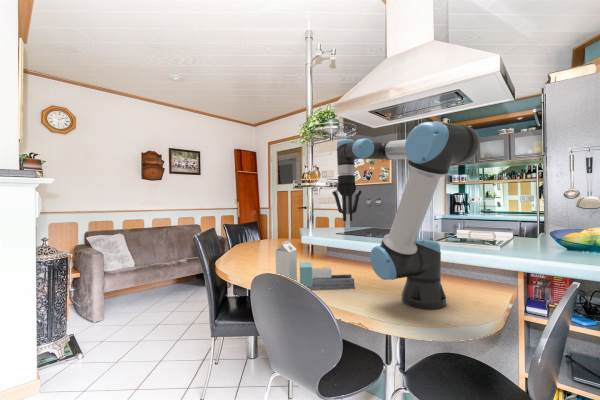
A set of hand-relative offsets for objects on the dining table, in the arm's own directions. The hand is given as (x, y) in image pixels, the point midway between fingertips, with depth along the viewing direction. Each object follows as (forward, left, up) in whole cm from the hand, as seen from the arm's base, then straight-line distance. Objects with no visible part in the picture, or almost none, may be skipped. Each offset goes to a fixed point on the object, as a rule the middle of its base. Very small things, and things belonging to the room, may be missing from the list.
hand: (347, 228), depth 131 cm
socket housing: (-1, +19, -23) cm, 30 cm away
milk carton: (+6, +27, -25) cm, 38 cm away
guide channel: (-1, +10, -25) cm, 27 cm away
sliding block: (-1, +14, -23) cm, 27 cm away
